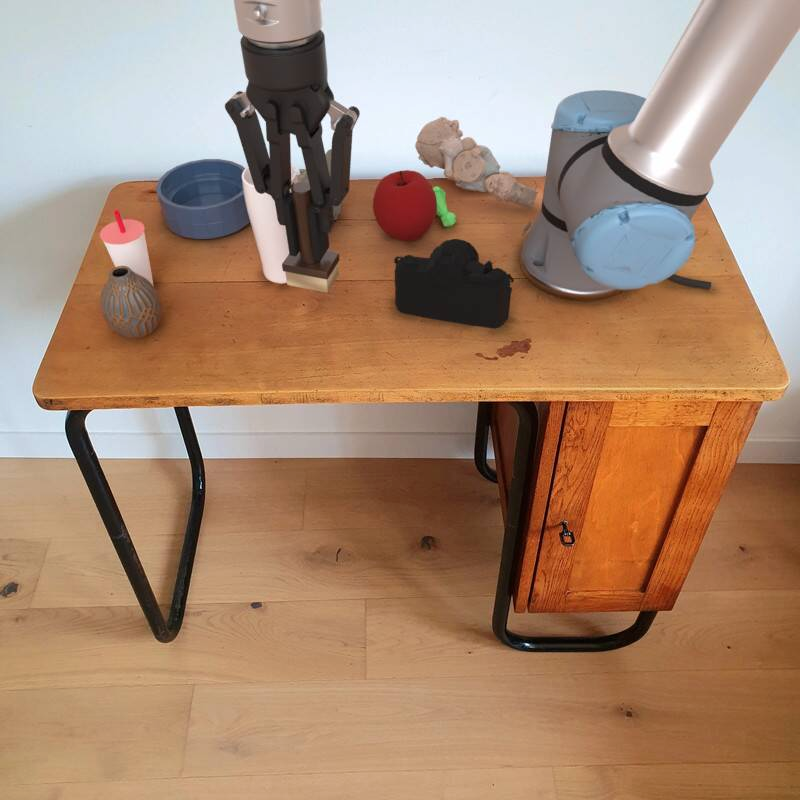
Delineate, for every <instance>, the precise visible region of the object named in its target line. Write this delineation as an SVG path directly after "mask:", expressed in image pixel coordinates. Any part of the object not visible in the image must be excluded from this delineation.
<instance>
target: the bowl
mask: <svg viewBox="0 0 800 800" xmlns="http://www.w3.org/2000/svg"><path fill="white" fill-rule="evenodd" d="M245 169H246V168H245V167H244V165H241V164H239V163H237V162H235V161H232V160H227V159H222V158H205V159H204V158H203V159H197V160H192V161H187V162H185V163H182V164H181V163H180V164H178V165H176V166H174V167H173V168H171V169H169V170H167V171H166V172H165V173H164V174H163V175H162V176H161V177H160V178H159V179H158V182H157V184H156V186H155V190H156V194H157V199H158V203H159V206H160V209H161V212H162V218H163V221H164V225H165V226H166V228H167V229H169V230H170V231H171V232H172V233H173V234H176V235H178V236H180V237H183V238H189V239H192V240H193V239H194V240H210V239H211V240H212V239H216V238H221V237H226V236H229V235H231V234H234V233H236V232H238V231H241V229H243V228H245V227H246V226H247V225H249V224H250V219H249V215H248V212H247V207H246V203H245V198H244V192H243V184H242V173H243V171H244V170H245Z"/></svg>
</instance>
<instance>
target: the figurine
mask: <svg viewBox="0 0 800 800" xmlns="http://www.w3.org/2000/svg"><path fill="white" fill-rule="evenodd" d="M463 136H464V132H463V130H461V129H460V121H459V120H458V119H452V120H449V119H448V118H447V117H446V116H440V117H438V118H437V119H435V120H431V121H429V122H428V123H426V124H425V125H424V126H423V127H422V128H421V130H420V132H419V133H418V135H417V137H416V142H415V143H414V146H415V147H414V148H415V150H416V152H417V154H418V160H420V161H421V162H422V163H423V164H424V165H425V166H428V167H429V168H432V169H433V168H434V167H436V168H439V169H441V170H444V171H443V175H444V177H445V178H446V179H447V180H450V181H453V182H455V186H456V187H458V188H460V189H462V190H466V191H473V192H478V193H479V192H480V193H482V194H483V193H484V194H486V193H488V194H489V195H491V196H492V197H493V198H494V199H496V200H497V201H498V202H505V203H513V204H516V205H518V206H522V207H525V208H529V209H532V208H533V207H534V204H535V201H536V199H537V196H538V193H539V192H538V190H536V189H534V188H532V187H530V186H528V185H526V184H523V183H521V182H519V181H518V180H516V178H515V177H514V175H513V174H511V172H509V171H500V169H501V165H500V164H499V162H498V161H497V158H496V157H495V156H494V155H493V153H492V150H490V148H489V147H487V146H485V145H482V144H478V143H477V142H476V141H475V139H473V137H471V136H466V137H464V138H462V137H463Z"/></svg>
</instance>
